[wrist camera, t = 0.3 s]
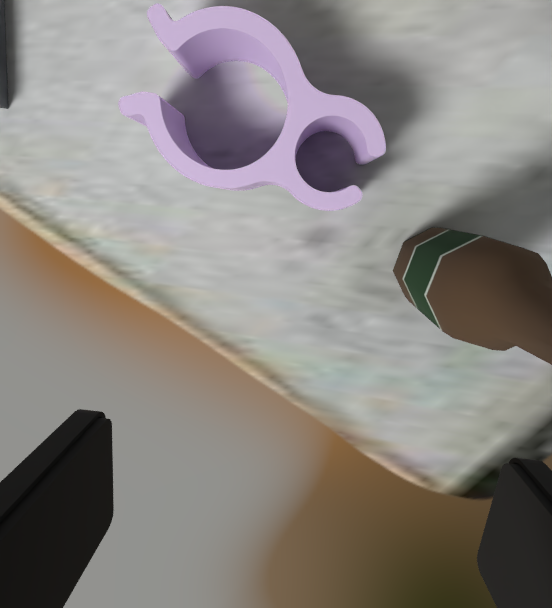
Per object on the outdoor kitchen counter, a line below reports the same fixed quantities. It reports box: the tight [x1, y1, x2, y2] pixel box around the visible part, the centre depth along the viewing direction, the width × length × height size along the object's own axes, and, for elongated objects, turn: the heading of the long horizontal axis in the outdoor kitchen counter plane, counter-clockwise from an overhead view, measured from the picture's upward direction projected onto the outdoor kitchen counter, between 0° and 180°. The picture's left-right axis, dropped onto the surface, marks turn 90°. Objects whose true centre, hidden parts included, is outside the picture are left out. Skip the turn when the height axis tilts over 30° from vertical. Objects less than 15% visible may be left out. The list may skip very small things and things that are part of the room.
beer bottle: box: [393, 228, 552, 364], centre depth 27 cm, size 8×8×24 cm
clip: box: [118, 4, 386, 211], centre depth 33 cm, size 20×12×7 cm, turn 65°
